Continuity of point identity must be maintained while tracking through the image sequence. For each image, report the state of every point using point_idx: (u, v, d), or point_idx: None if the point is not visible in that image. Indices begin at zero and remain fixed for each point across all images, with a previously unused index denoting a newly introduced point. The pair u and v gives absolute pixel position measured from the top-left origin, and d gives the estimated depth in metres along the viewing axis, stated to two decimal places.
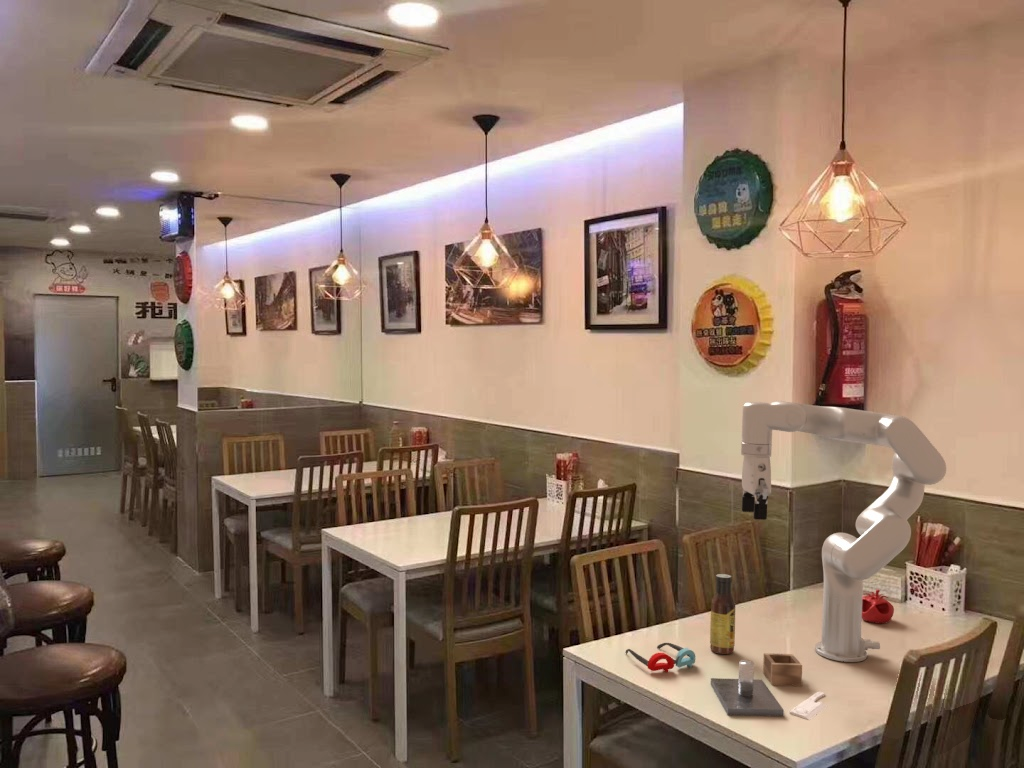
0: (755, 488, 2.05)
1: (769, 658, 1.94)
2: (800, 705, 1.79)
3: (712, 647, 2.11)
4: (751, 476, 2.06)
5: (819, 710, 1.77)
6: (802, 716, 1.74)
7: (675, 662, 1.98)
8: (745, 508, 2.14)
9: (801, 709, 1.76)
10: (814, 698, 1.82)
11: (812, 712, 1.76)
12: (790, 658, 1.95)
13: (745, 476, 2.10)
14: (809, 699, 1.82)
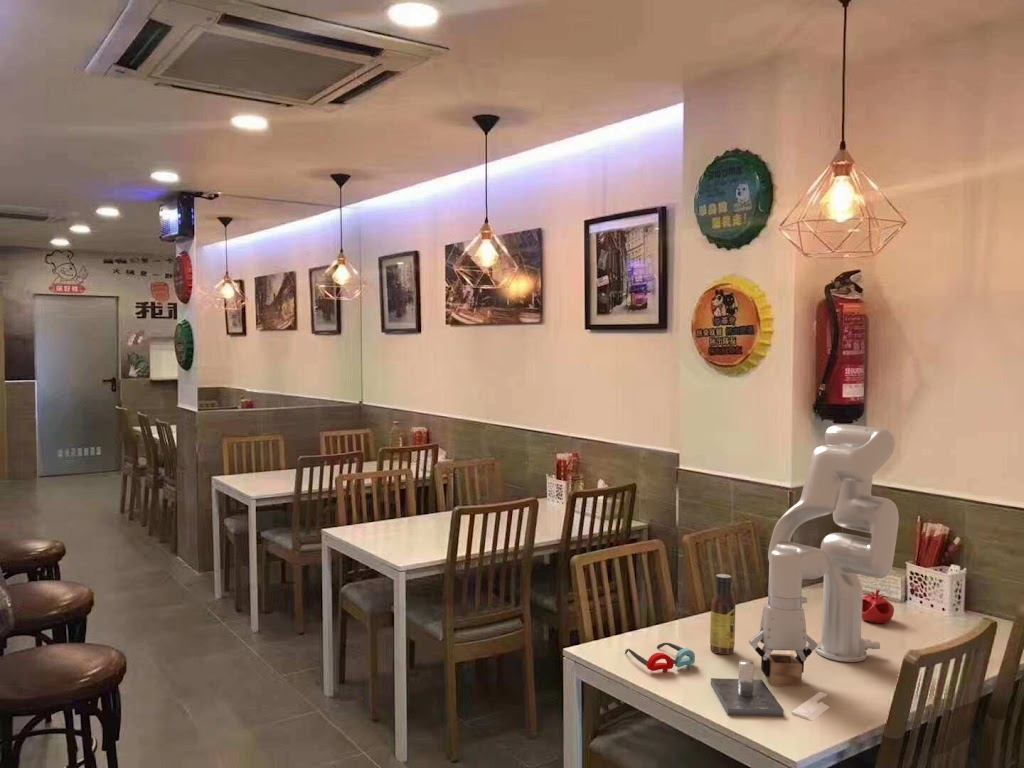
0: None
1: (769, 658, 1.94)
2: (801, 705, 1.78)
3: (712, 647, 2.11)
4: (801, 631, 1.91)
5: (821, 711, 1.77)
6: (804, 717, 1.73)
7: (674, 662, 1.98)
8: None
9: (803, 710, 1.76)
10: (815, 699, 1.82)
11: (814, 713, 1.75)
12: (790, 658, 1.95)
13: (785, 634, 1.91)
14: (811, 699, 1.82)
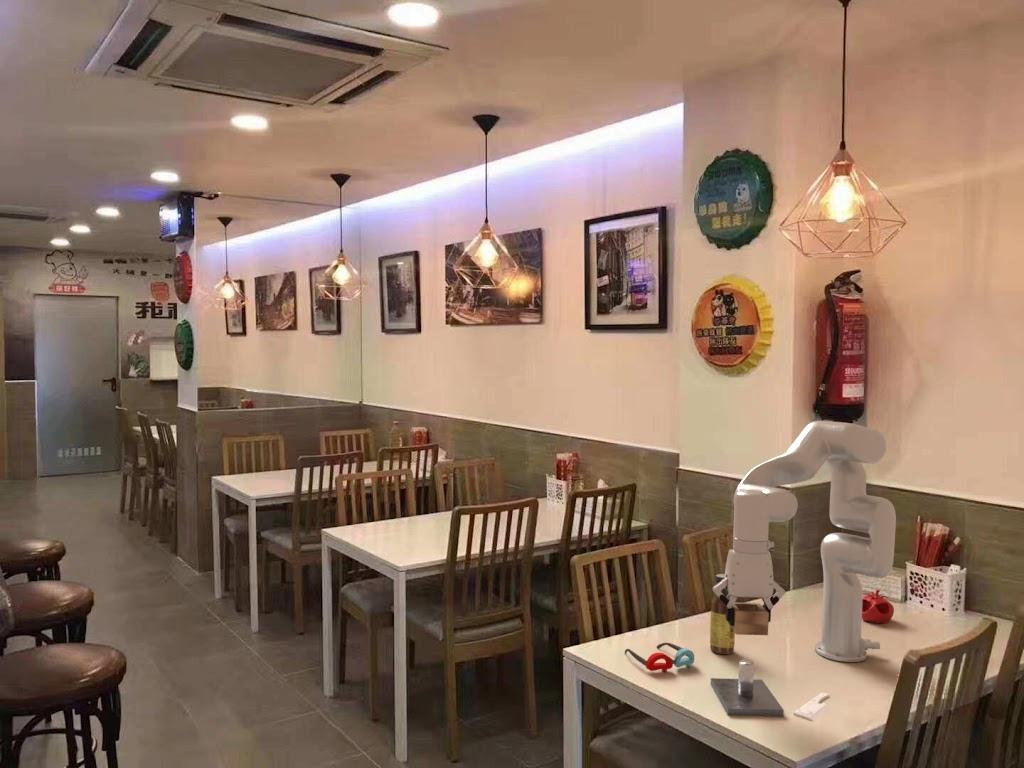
0: None
1: (734, 606, 1.81)
2: (804, 706, 1.78)
3: (712, 647, 2.11)
4: (768, 577, 1.79)
5: (823, 711, 1.77)
6: (806, 717, 1.73)
7: (674, 662, 1.98)
8: None
9: (805, 710, 1.76)
10: (818, 699, 1.82)
11: (816, 713, 1.75)
12: (757, 607, 1.83)
13: (750, 580, 1.79)
14: (813, 700, 1.81)
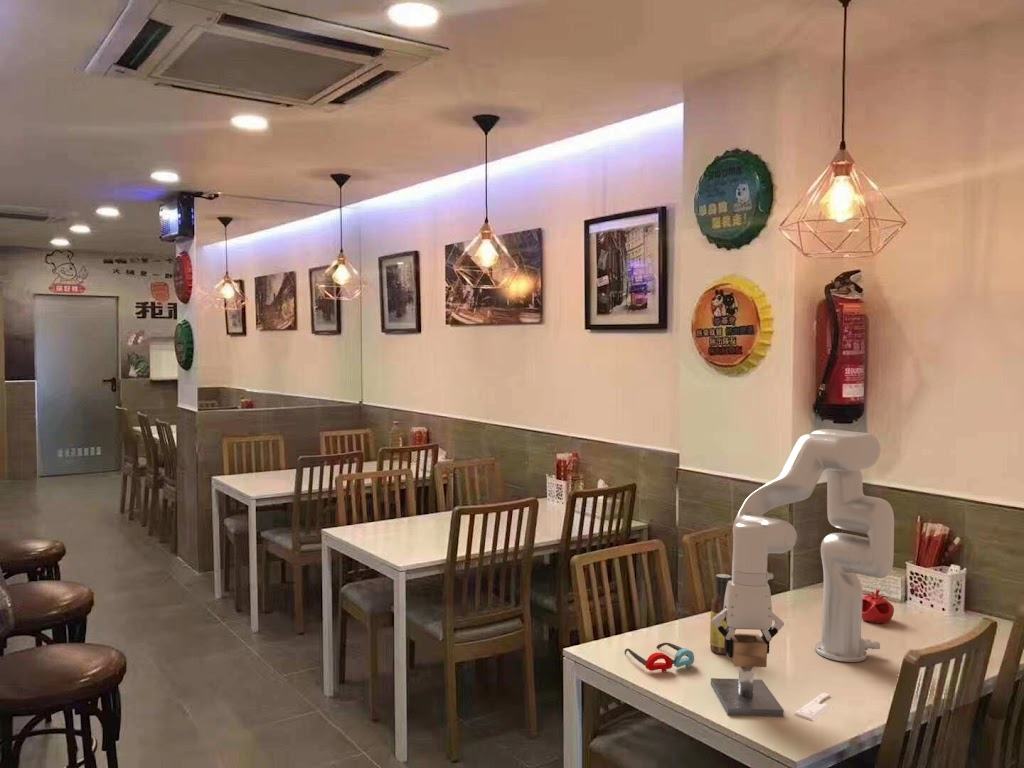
0: None
1: (733, 638, 1.82)
2: (805, 706, 1.78)
3: (712, 647, 2.11)
4: (767, 609, 1.79)
5: (824, 712, 1.76)
6: (807, 718, 1.73)
7: (673, 662, 1.98)
8: None
9: (806, 711, 1.76)
10: (818, 699, 1.82)
11: (817, 714, 1.75)
12: (756, 638, 1.83)
13: (749, 612, 1.79)
14: (814, 700, 1.81)
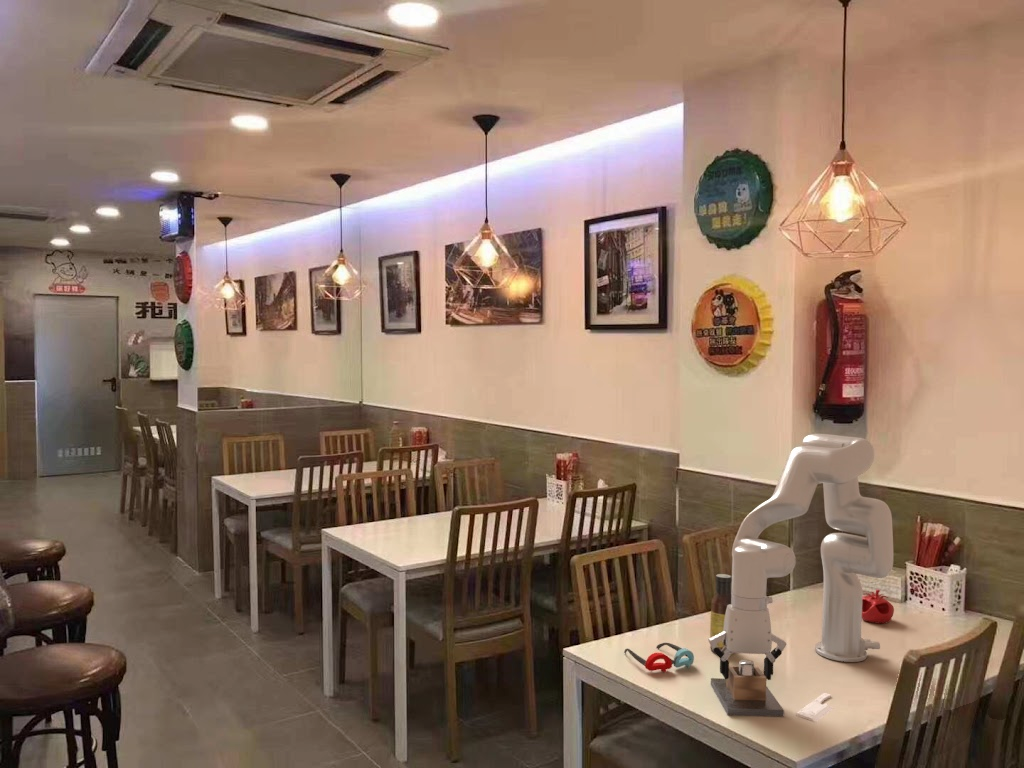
0: (771, 645, 1.80)
1: (732, 670, 1.82)
2: (806, 707, 1.78)
3: None
4: (766, 633, 1.79)
5: (825, 712, 1.76)
6: (809, 718, 1.73)
7: (673, 662, 1.98)
8: None
9: (807, 711, 1.75)
10: (820, 700, 1.82)
11: (819, 714, 1.75)
12: (755, 670, 1.83)
13: (748, 636, 1.79)
14: (815, 701, 1.81)
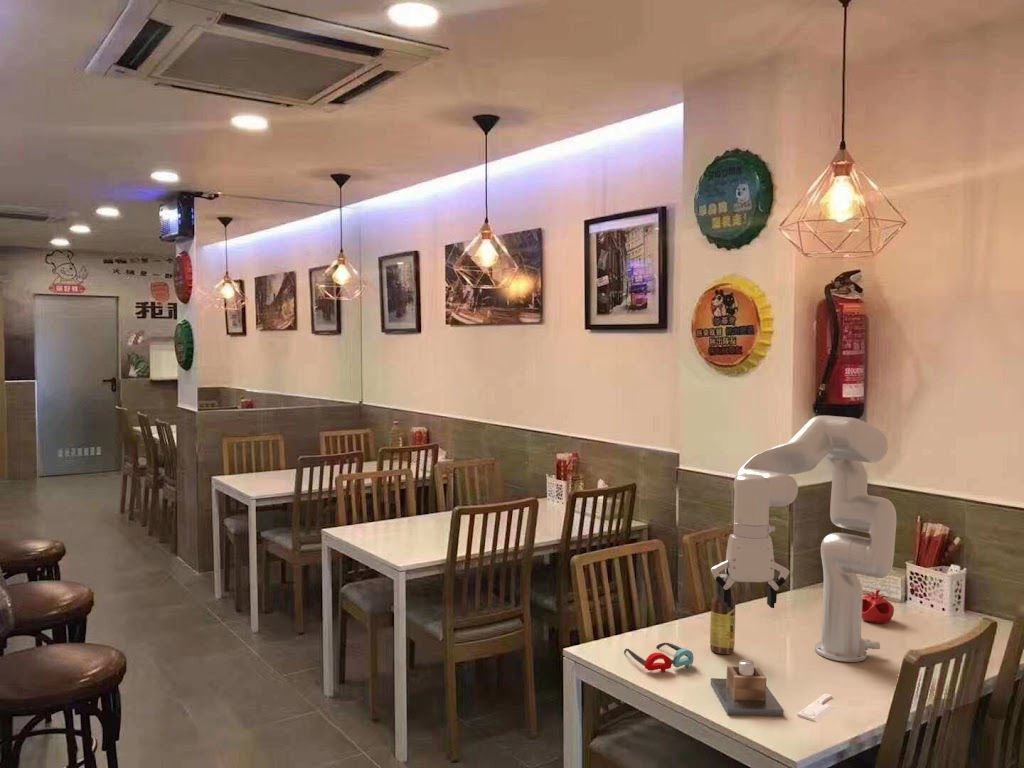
0: None
1: (732, 670, 1.82)
2: (807, 707, 1.78)
3: (712, 647, 2.11)
4: (769, 561, 1.79)
5: (827, 712, 1.76)
6: (810, 719, 1.73)
7: (672, 662, 1.98)
8: None
9: (809, 711, 1.75)
10: (821, 700, 1.81)
11: (820, 714, 1.75)
12: (755, 670, 1.83)
13: (751, 564, 1.78)
14: (816, 701, 1.81)
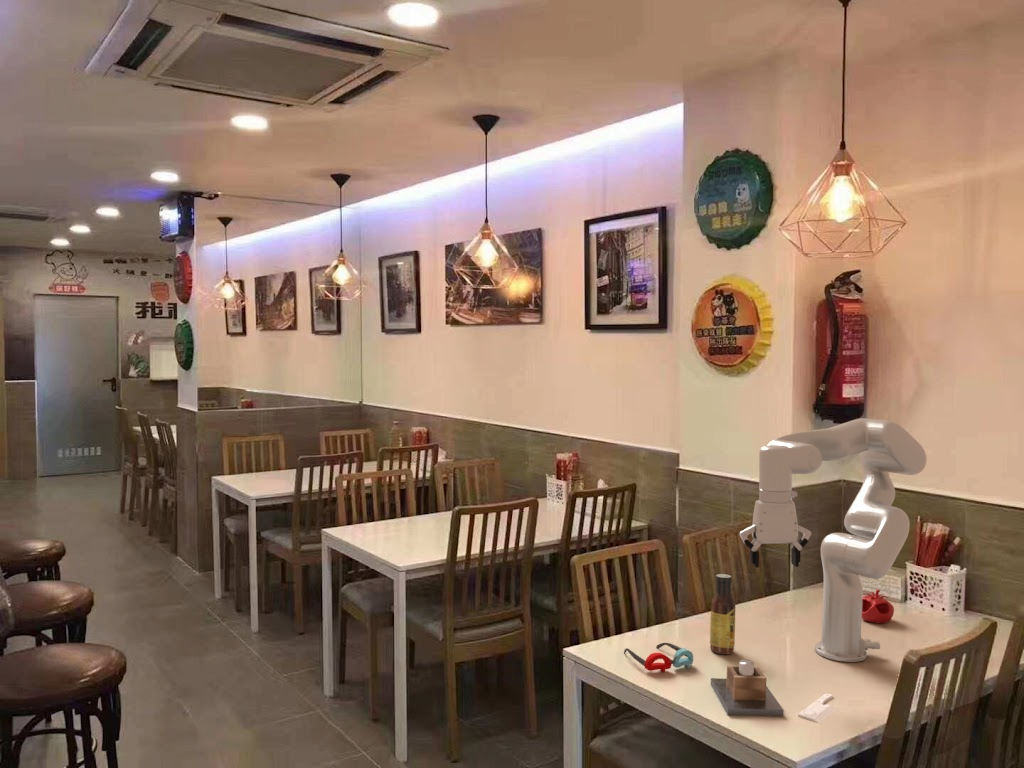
0: (797, 535, 1.95)
1: (732, 670, 1.82)
2: (808, 707, 1.78)
3: (712, 647, 2.11)
4: (793, 524, 1.94)
5: (827, 712, 1.76)
6: (811, 719, 1.73)
7: (672, 662, 1.97)
8: None
9: (809, 712, 1.75)
10: (822, 700, 1.81)
11: (821, 714, 1.74)
12: (755, 670, 1.83)
13: (776, 527, 1.94)
14: (817, 701, 1.81)
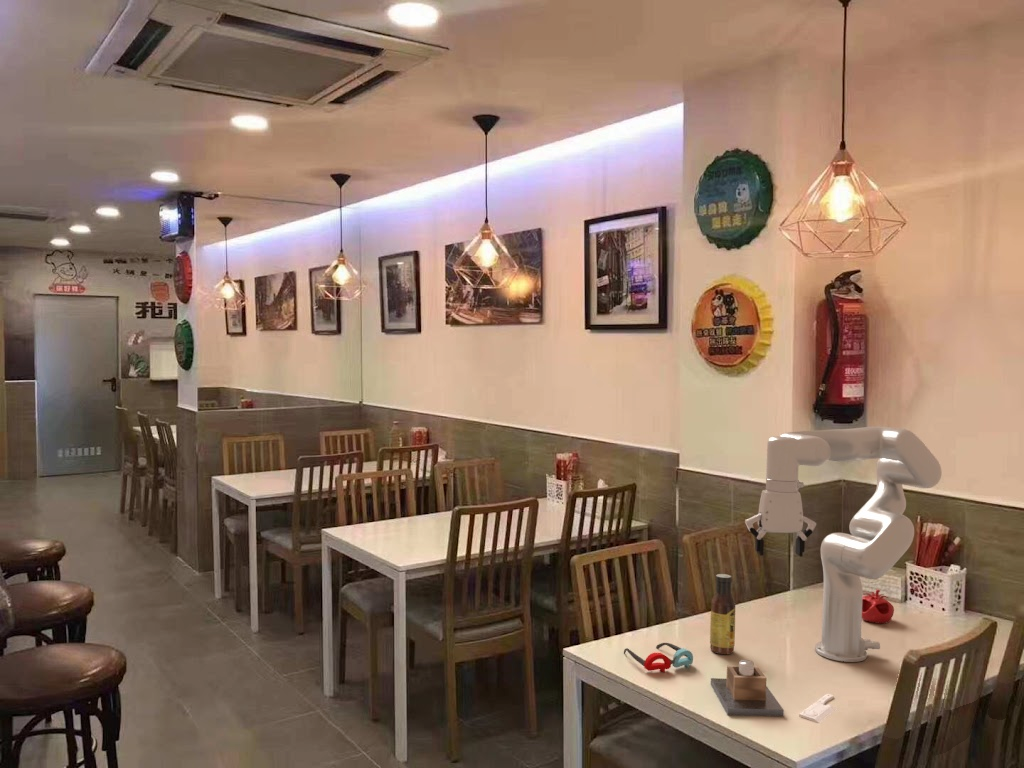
0: (802, 525, 1.99)
1: (732, 670, 1.82)
2: (809, 708, 1.77)
3: (712, 647, 2.11)
4: (798, 514, 1.98)
5: (829, 713, 1.76)
6: (812, 719, 1.72)
7: (672, 662, 1.97)
8: None
9: (811, 712, 1.75)
10: (823, 701, 1.81)
11: (822, 715, 1.74)
12: (755, 670, 1.83)
13: (782, 516, 1.98)
14: (818, 702, 1.81)
